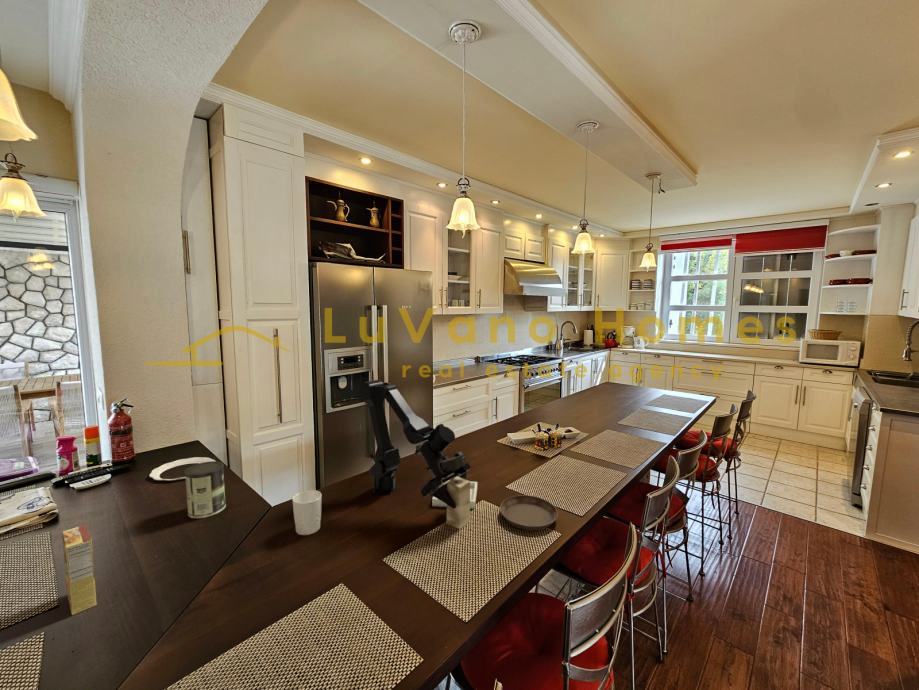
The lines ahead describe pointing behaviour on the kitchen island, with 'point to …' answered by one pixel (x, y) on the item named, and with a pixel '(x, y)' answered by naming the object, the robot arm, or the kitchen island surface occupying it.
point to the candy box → (79, 569)
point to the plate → (162, 468)
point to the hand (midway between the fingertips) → (462, 503)
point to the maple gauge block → (459, 502)
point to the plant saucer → (528, 512)
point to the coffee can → (205, 489)
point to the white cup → (307, 511)
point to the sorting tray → (472, 497)
